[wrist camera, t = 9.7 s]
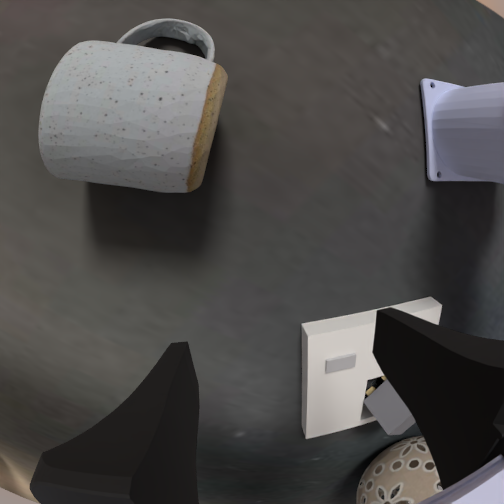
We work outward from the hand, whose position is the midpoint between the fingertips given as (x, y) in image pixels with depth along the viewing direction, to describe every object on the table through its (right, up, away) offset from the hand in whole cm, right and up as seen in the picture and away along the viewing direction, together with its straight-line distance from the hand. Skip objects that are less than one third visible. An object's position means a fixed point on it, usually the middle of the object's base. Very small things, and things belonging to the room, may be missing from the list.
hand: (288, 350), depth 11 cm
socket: (+9, -7, +14) cm, 18 cm away
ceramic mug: (-8, +13, +6) cm, 16 cm away
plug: (+11, -9, +14) cm, 20 cm away
